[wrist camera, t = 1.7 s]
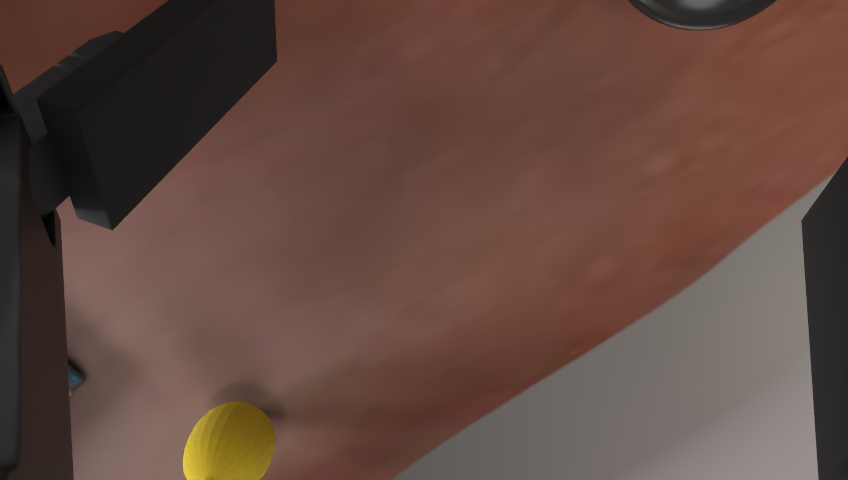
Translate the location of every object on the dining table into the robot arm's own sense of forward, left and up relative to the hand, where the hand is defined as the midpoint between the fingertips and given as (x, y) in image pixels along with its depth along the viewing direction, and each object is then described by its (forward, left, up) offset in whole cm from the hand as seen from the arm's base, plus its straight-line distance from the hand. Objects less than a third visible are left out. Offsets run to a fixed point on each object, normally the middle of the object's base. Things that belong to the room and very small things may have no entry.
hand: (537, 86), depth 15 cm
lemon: (+17, -26, -26) cm, 41 cm away
